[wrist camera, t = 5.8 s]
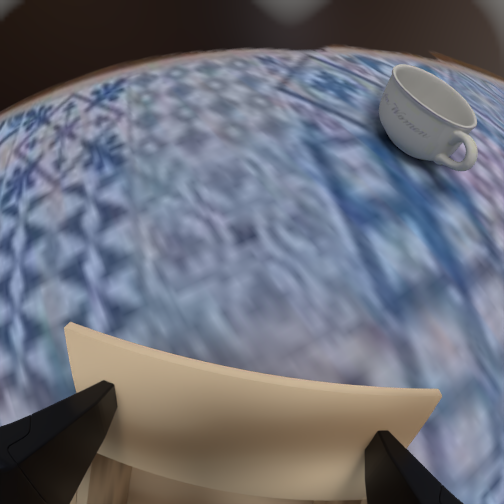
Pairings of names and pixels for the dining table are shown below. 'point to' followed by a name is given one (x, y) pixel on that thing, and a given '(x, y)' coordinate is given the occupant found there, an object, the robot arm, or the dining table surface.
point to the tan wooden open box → (160, 489)
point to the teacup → (427, 117)
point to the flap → (241, 421)
